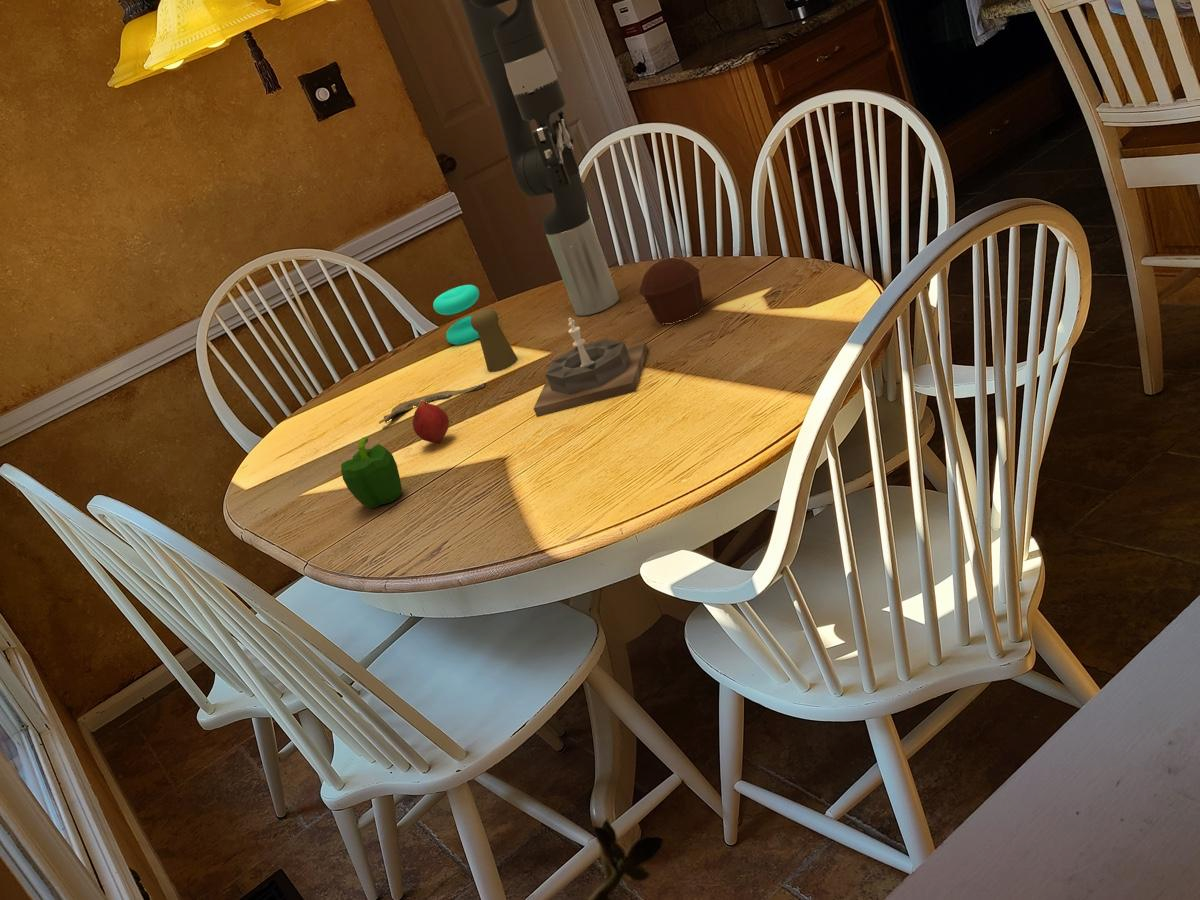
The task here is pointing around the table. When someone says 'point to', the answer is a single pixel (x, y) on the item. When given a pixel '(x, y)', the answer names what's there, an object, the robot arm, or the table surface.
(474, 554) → the table surface
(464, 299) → the donuts
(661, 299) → the muffin
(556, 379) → the collar socket
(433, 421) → the onion
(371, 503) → the bell pepper
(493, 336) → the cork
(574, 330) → the chess piece
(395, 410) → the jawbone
